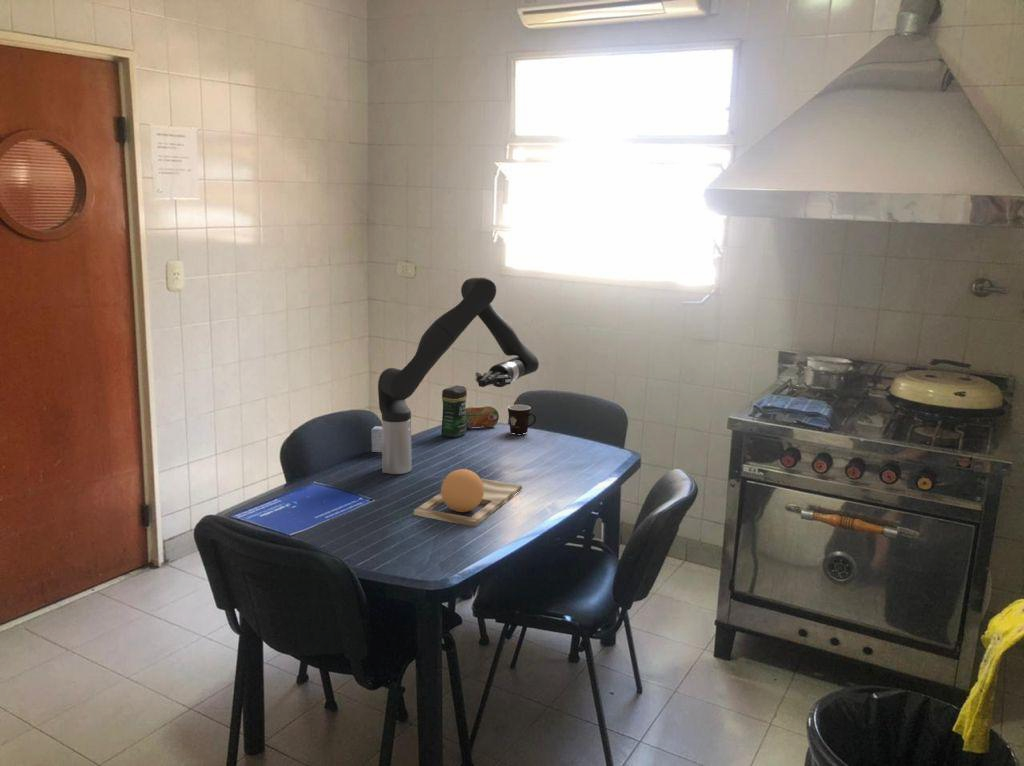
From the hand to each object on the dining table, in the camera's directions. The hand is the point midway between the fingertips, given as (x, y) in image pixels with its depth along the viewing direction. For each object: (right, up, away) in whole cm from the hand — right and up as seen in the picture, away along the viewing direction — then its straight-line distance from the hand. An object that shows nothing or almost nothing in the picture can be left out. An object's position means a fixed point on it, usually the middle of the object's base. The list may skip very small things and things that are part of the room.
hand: (481, 383), depth 251 cm
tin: (-3, -17, +62) cm, 64 cm away
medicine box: (-35, -24, +29) cm, 51 cm away
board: (-2, -34, -17) cm, 38 cm away
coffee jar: (-12, -19, +51) cm, 56 cm away
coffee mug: (+13, -19, +54) cm, 59 cm away
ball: (-4, -30, -25) cm, 39 cm away
